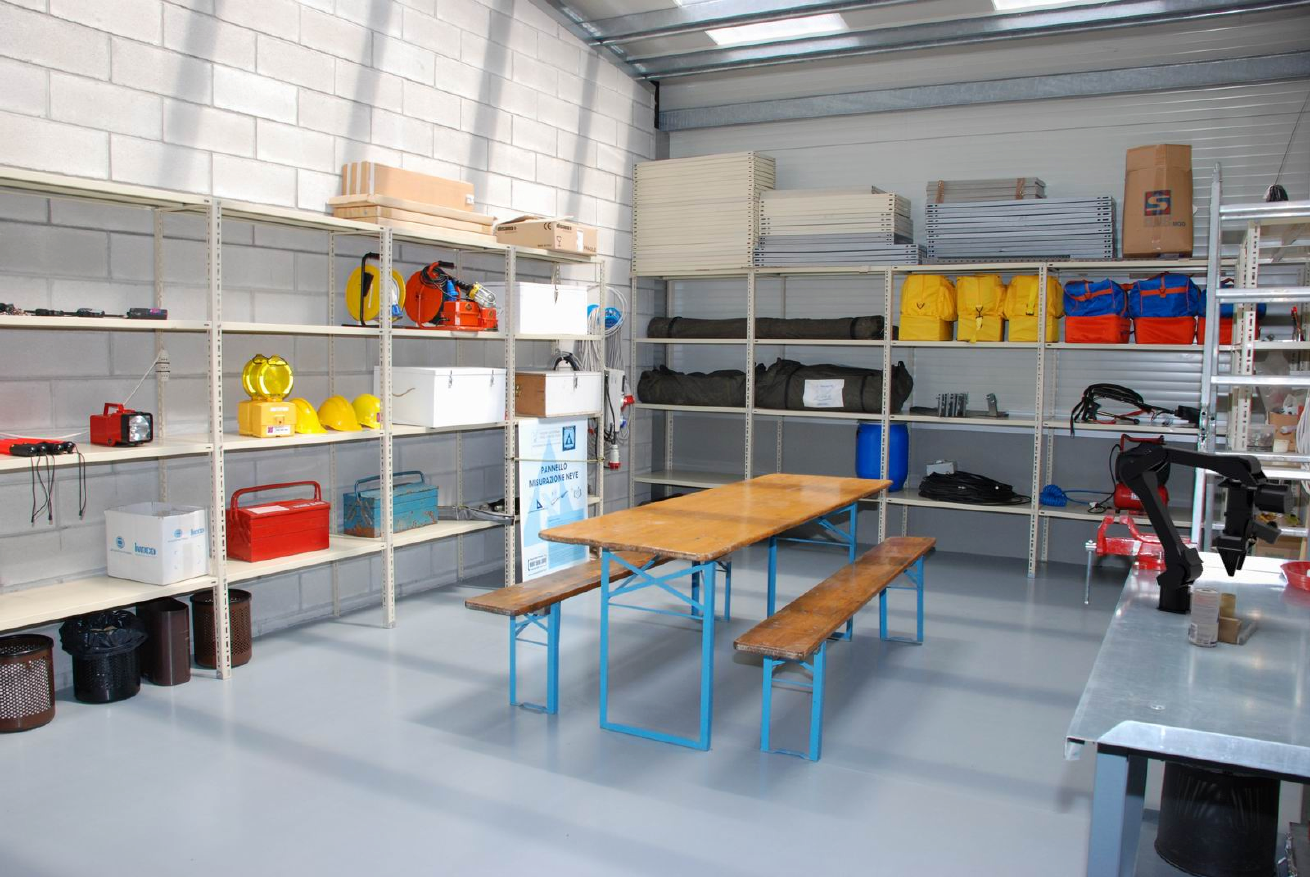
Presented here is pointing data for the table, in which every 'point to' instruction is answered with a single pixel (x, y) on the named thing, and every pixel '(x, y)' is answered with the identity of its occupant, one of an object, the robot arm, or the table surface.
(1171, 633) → the table surface
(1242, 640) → the clamp rails
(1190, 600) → the robot arm
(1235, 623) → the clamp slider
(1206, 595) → the energy drink
